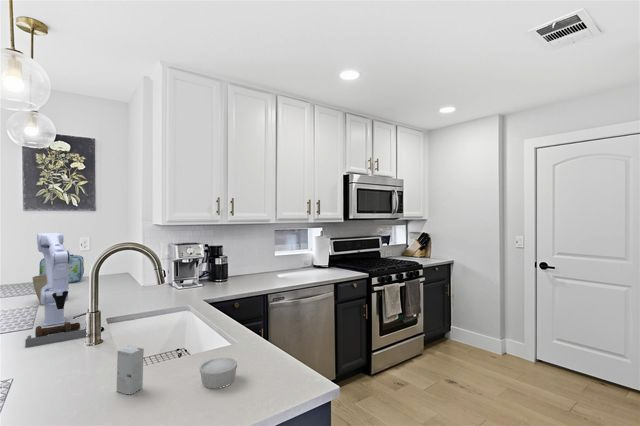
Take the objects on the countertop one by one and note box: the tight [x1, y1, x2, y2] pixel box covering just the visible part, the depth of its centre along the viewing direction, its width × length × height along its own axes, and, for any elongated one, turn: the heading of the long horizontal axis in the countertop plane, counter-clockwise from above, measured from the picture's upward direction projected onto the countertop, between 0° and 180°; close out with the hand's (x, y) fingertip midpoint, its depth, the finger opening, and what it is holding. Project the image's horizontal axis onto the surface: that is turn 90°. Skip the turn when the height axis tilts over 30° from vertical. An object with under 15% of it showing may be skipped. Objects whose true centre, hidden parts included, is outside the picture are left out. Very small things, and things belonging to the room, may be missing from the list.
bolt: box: [34, 321, 81, 338], centre depth 145 cm, size 6×5×15 cm
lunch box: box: [38, 254, 85, 284], centre depth 252 cm, size 26×11×21 cm, turn 115°
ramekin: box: [199, 357, 238, 389], centre depth 105 cm, size 11×11×5 cm
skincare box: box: [116, 344, 145, 396], centre depth 100 cm, size 6×4×12 cm
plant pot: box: [32, 275, 47, 306], centre depth 195 cm, size 15×15×16 cm
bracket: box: [24, 326, 87, 348], centre depth 140 cm, size 7×20×3 cm, turn 125°
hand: (60, 308), depth 151 cm, fingers closed
